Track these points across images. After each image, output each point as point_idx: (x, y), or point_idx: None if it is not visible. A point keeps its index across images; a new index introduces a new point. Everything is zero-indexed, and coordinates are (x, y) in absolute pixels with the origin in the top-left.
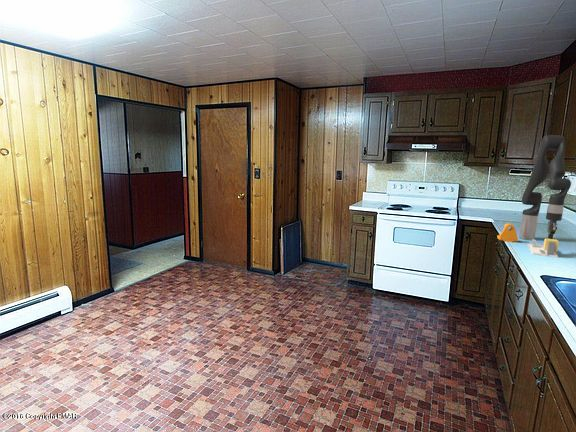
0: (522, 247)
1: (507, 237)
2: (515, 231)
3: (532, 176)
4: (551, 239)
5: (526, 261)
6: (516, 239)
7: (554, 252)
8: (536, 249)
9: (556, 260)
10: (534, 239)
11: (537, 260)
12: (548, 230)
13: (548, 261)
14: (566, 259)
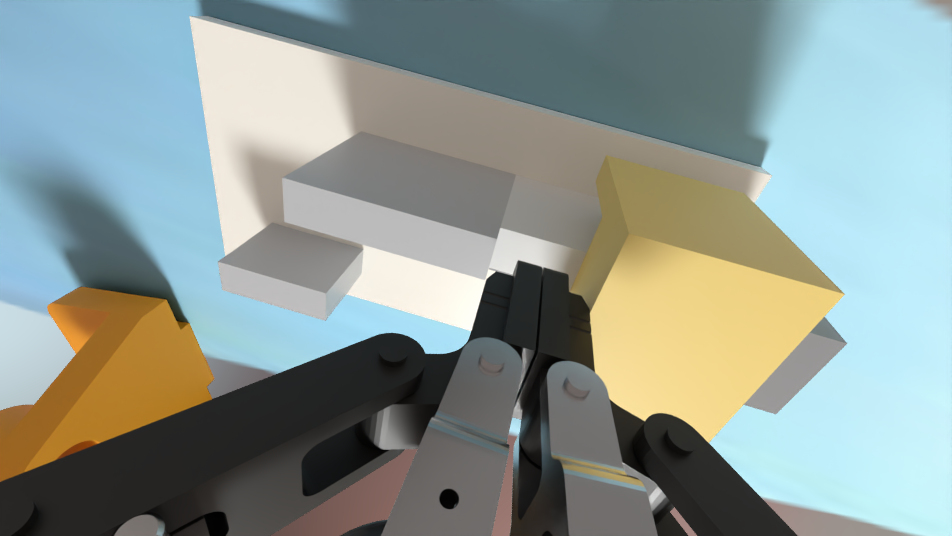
0: (373, 334)
1: (175, 391)
2: (78, 404)
3: None
4: (635, 340)
5: (905, 513)
6: (154, 321)
7: (573, 130)
8: (478, 287)
9: (913, 255)
10: (226, 272)
11: (883, 431)
12: (392, 458)
13: (942, 360)
14: (878, 82)
